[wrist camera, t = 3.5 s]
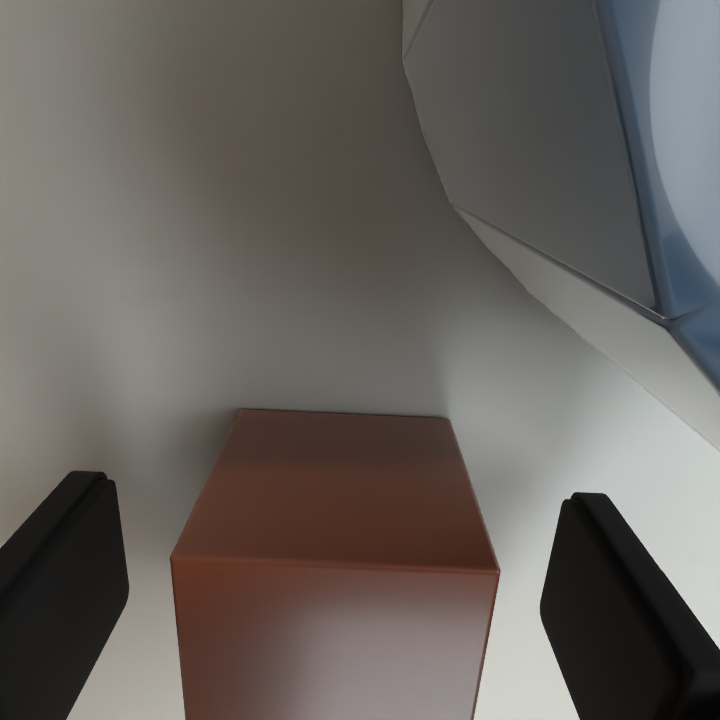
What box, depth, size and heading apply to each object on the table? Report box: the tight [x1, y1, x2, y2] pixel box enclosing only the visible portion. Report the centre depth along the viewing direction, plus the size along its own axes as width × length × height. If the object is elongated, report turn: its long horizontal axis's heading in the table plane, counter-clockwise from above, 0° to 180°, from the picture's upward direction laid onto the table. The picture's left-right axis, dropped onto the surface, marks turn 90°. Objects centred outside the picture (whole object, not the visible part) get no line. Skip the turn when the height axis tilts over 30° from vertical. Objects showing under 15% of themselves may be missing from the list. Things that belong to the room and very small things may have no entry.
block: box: [170, 409, 500, 720], centre depth 10 cm, size 4×4×4 cm
